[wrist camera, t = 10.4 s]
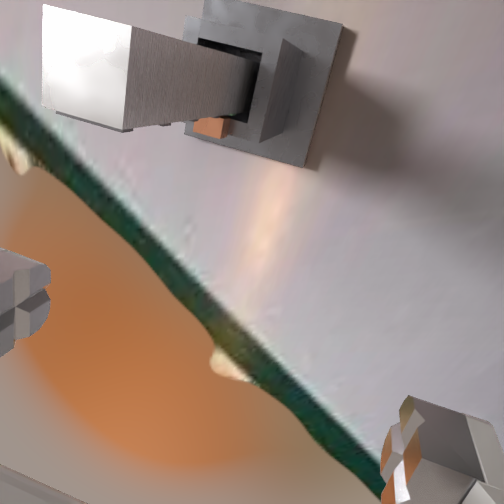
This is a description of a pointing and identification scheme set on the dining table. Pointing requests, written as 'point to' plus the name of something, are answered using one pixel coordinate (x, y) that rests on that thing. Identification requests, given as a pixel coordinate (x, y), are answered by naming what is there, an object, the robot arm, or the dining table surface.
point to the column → (136, 74)
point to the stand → (268, 76)
